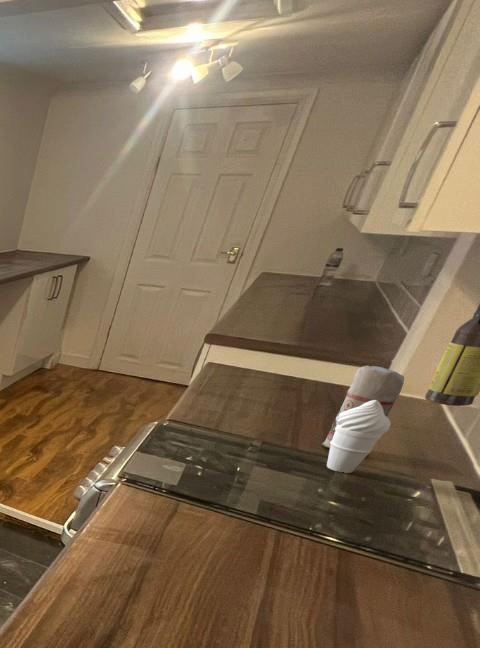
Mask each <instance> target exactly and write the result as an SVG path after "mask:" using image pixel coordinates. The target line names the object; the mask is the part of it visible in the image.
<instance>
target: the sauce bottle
mask: <svg viewBox="0 0 480 648" xmlns="http://www.w3.org/2000/svg"><path fill="white" fill-rule="evenodd" d="M479 318H480V303H479V304H478V306H477V308H476V310H475V311H474V313H473V315H472V318H470V319H469V320H467V321H465V322H464V323H462V325H460V326H459V327H458V328H457V329H456V331H455V332H454V334H453V337H452V339H451V340H450V341H449V344H448V346H447V347H446V350H445V352H444V353H443V356H442V358H441V360H440V362H439V364H438V366H437V369H436V370H435V372H434V375H433V377H432V379H431V380H430V382H429V384H428V387H427V389H428V390H427V392H426V393H425V396H424V399H425V400H426V401H427V402H431V403H434V404H438V405H443V406H445V405H446V406H453V407H460V406H461V407H464V406H470V405H472V404H473V403H474V400H475V398H476V397H477V396H478V395H479V394H480V324H479V323H478V320H479Z"/></svg>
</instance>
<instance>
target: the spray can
mask: <svg viewBox="0 0 480 648" xmlns="http://www.w3.org/2000/svg"><path fill="white" fill-rule="evenodd" d="M353 377H354V378H353V381H352V383H351V385H350V387H349V388H348V389H347V392H346V396H345V399H344V401H343V403H342V405H341V407H340V409H339V411H338V413H337V415H336V417H338V416H339V414H340V413H342V412H345V411H347V410H349V409H352V408H356V407H359V406H361V405H363V404H364V403H367V402H369V401H372V400H377V401H378V402H379V403H380V404H381V406H382V408H383V411H384V415H385V416H386V417H387V418H388V416H389V413H390V412H391V410H392V409H393V406H394V404H395V402H396V401H397V399H398V398H399V396H400V394H401V391H402V389H403V386H404V382H405V376H404V374H403V375H402V374H400V373H399V372H397V371H395V370H392V369H388V368H386V367H383V366H376V365H371V366H370V365H363V366H361V367H360V368H358V369H357V371H356V373H355V375H354V376H353ZM336 423H337V421H336V419H334V422H333V423H332V426H331V428H330V430H329V432H328V434H327V436H326V438H325V441H324V442H322V443H321V445H322V446H323V447H325V448H328V449H330V446H331V444H330V442H331V441H332V439H333V436H334V433H335V431H336V430H335V428H336V426H337V424H336Z"/></svg>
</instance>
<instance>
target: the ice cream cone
mask: <svg viewBox="0 0 480 648" xmlns="http://www.w3.org/2000/svg"><path fill="white" fill-rule="evenodd" d="M335 420H336V421H337V423H336V424H337V426H336V428H335V430H336V431H335V433H334V436H333V439H332V441H331V442H330V444H331V446H330V448H329V451H328V457H327V461H326V467H327V469H330V470H331V471H334V472H337V471H338V473H342V472H344V473H343V474H351V473H353V472H354V471H355V470H356V469H357V467H358V466H359V465H360V464H361V463H362V462H363V461H364V459H366V457H367V456H368V455H369V454H370V453H372V451H373V450H372V449H373V448H374V447H375V445H376V444H377V442H378V440H380V439H381V438H382V436H383V435H384V434H385V433H387V432H388V431H389V430H390V427H391V425H392V424H391V423H392V422H391V420H390V419H389V417H388V416H387V417H386V416H385V415H384V411H383V408H382V406H381V404H380V403H379V402H378V401H377V400H372V401H369V402H367V403H364V404H363V405H361V406H359V407H356V408H352V409H349V410H347V411H345V412H342V413H340V414H339V416H338V417H337V416H336V417H335Z"/></svg>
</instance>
